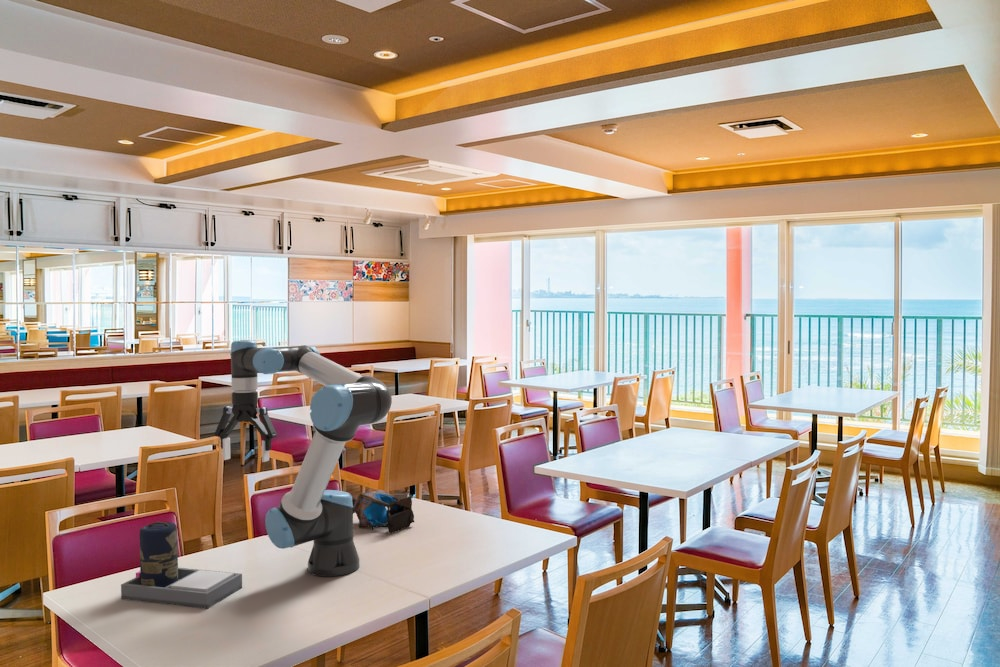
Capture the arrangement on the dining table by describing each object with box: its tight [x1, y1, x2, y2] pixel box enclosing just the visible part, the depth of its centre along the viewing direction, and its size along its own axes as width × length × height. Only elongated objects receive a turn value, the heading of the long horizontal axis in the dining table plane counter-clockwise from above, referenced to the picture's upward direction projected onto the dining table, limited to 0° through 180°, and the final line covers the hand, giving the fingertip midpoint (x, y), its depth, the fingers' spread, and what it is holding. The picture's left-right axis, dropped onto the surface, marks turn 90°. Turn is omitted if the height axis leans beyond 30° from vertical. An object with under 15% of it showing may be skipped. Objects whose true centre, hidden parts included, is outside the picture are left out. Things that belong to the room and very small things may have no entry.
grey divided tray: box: [120, 567, 243, 610], centre depth 203 cm, size 27×15×5 cm, turn 75°
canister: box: [138, 521, 179, 587], centre depth 204 cm, size 10×10×18 cm
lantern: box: [352, 488, 415, 534], centre depth 265 cm, size 16×16×25 cm
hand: (246, 460), depth 226 cm, fingers open, 13 cm apart
